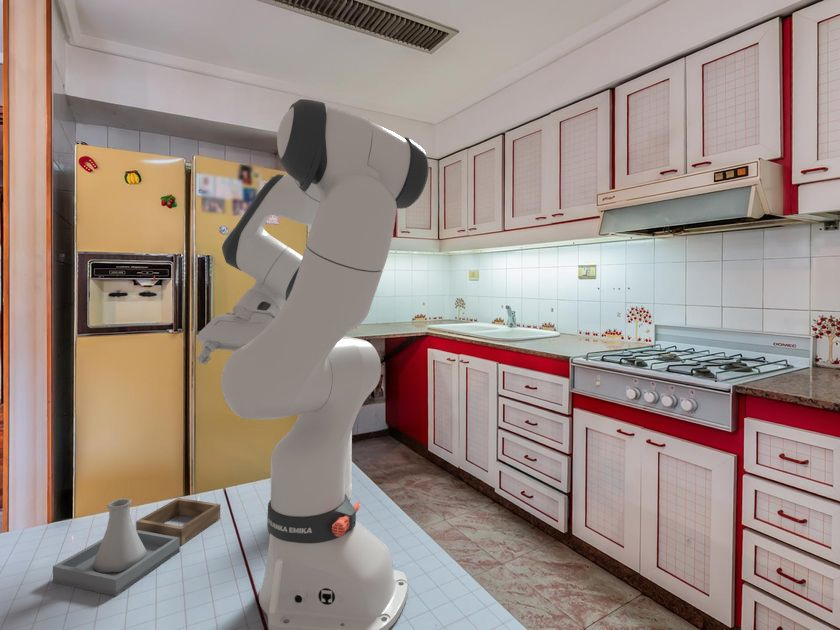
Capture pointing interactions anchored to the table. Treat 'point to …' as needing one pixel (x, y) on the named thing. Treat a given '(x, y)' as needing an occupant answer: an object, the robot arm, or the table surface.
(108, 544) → the flask
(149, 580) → the table surface
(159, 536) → the tray
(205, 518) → the shaker holder
